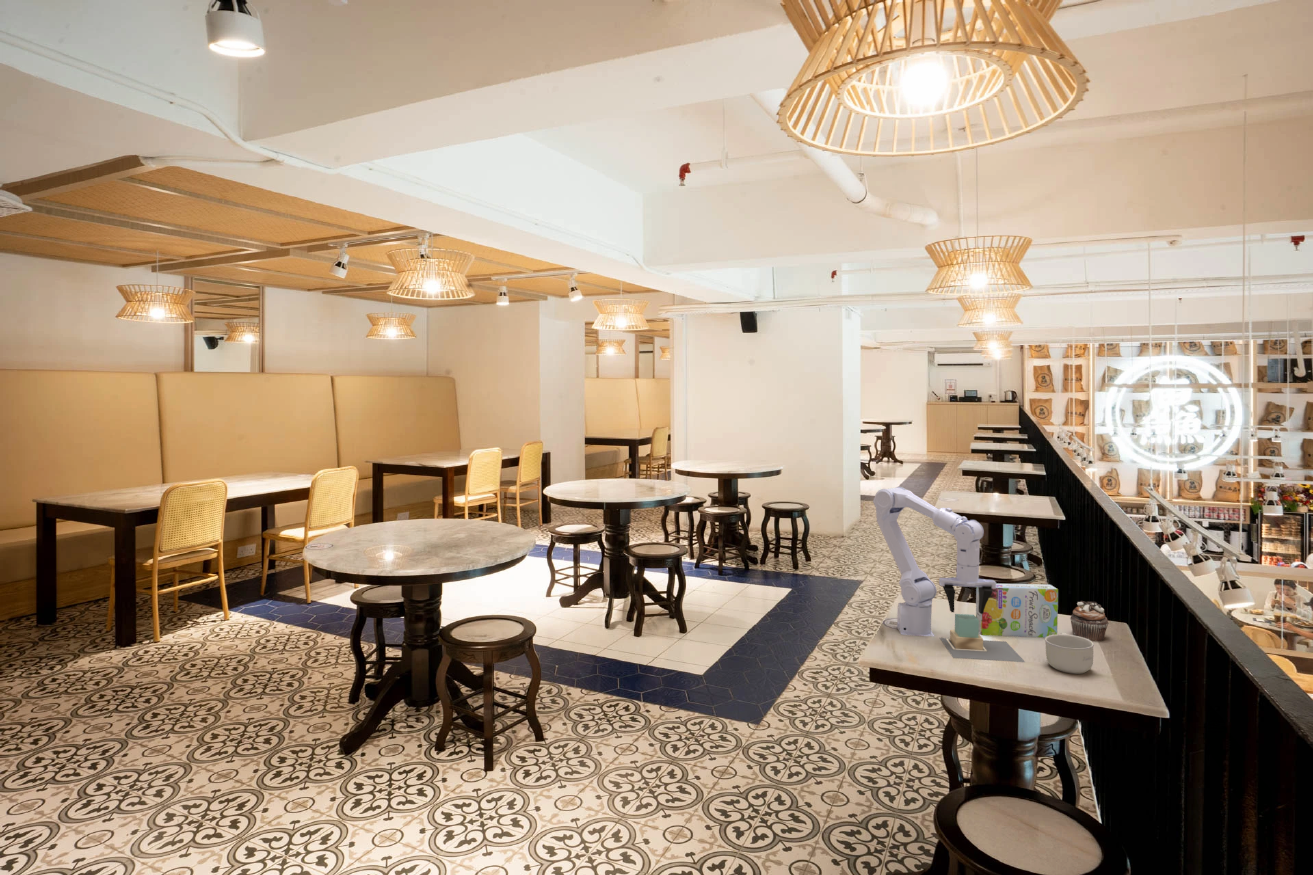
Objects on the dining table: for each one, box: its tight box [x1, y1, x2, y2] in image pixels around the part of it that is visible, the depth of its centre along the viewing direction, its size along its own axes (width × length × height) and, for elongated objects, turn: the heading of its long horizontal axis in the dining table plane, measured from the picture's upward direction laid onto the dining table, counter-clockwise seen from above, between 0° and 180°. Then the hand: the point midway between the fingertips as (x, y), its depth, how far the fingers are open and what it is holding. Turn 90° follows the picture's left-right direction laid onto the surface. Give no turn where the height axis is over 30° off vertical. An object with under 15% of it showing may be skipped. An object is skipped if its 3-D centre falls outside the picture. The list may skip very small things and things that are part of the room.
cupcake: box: [1069, 600, 1109, 642], centre depth 207 cm, size 10×10×10 cm
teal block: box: [954, 613, 980, 638], centre depth 198 cm, size 5×5×5 cm
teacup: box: [1044, 632, 1095, 675], centre depth 182 cm, size 14×11×8 cm
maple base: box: [949, 629, 984, 650], centre depth 198 cm, size 7×7×3 cm
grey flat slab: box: [939, 637, 1026, 663], centre depth 195 cm, size 18×16×1 cm
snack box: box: [975, 583, 1059, 638], centre depth 208 cm, size 21×6×15 cm, turn 84°
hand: (966, 612), depth 198 cm, fingers open, 7 cm apart
